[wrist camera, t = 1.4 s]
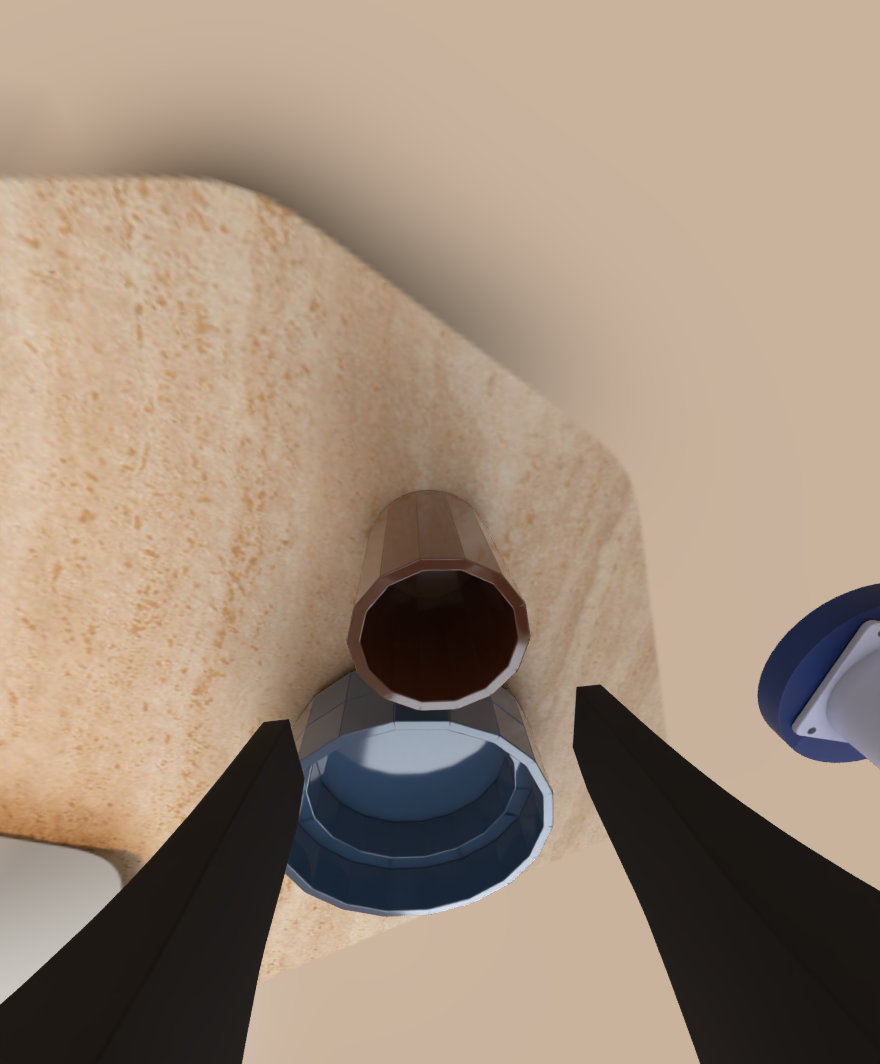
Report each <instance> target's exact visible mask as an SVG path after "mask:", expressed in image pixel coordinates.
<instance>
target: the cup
mask: <svg viewBox="0 0 880 1064" xmlns="http://www.w3.org/2000/svg"><path fill="white" fill-rule="evenodd" d="M529 640H530V630H529V623H528V617H527V610H526V604H525V602H524V600H523V598H522V596H521V594H520V592H519V590H518V588H517V586H516V584H515V582H514V580H513V578H512V576H511V574H510V572H509V570H508V568H507V566H506V564H505V562H504V560H503V558H502V556H501V554H500V552H499V551H498V549H497V547H496V545H495V543H494V541H493V539H492V537H491V535H490V533H489V531H488V529H487V527H486V525H485V524H484V523H483V521H482V520H481V518H480V517H479V515H478V514H477V512H476V511H475V510H474V509H473V508H472V507H471V506H470V505H469V504H467V503H466V502H465V501H463V500H462V499H460V498H458V497H456V496H454V495H452V494H449V493H445V492H440V491H429V490H427V491H418V492H413V493H410V494H407V495H404V496H402V497H400V498H398V499H396V500H395V501H393V502H392V503H391V504H389V505H388V506H387V507H386V508H385V509H384V510H383V511H382V512H381V513H380V515H379V516H378V517H377V519H376V521H375V522H374V524H373V526H372V528H371V531H370V535H369V540H368V544H367V549H366V553H365V558H364V562H363V567H362V572H361V576H360V581H359V585H358V590H357V594H356V599H355V603H354V608H353V613H352V617H351V622H350V627H349V632H348V637H347V645H348V648H349V651H350V654H351V656H352V659H353V662H354V665H355V668H356V671H357V674H358V675H359V676H360V677H361V678H362V679H363V680H364V681H365V682H366V683H367V684H368V685H369V686H370V687H372V688H373V689H374V690H375V691H376V692H377V693H378V694H379V695H380V696H381V697H382V698H385V699H386V700H389V701H392V702H395V703H397V704H400V705H403V706H406V707H409V708H412V709H415V710H420V711H427V710H453V709H459V708H462V707H464V706H466V705H469V704H471V703H474V702H476V701H479V700H481V699H484V698H486V697H489V696H491V694H494V693H495V692H496V691H497V690H498V689H499V688H500V687H501V686H502V685H503V684H504V683H505V682H506V681H507V680H508V679H509V678H510V677H511V676H512V675H513V674H514V673H515V672H517V670H518V669H519V666H520V664H521V661H522V658H523V656H524V653H525V651H526V648H527V645H528V643H529Z"/></svg>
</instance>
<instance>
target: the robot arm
mask: <svg viewBox="0 0 880 1064" xmlns="http://www.w3.org/2000/svg"><path fill="white" fill-rule="evenodd" d="M792 730H793V731H794V732H795V733H796V734H797V735H801V736H807V737H814V738H820V739H827V740H833V741H840V742H847V743H849V744H851V745H852V746H853V747H854V748H855V749H856V750H858V751H859V752H860V753H861V754H862V755H864V756H865V757H866V758H867V759H868V760H870V761H871V762H872V763H873V764H874V765H875V766H877V767H878V768H879V769H880V621H876V620H869V621H866V622H864V623H863V624H862V625H861V626H860V628H859V629H858V630H857V632H856V633H855V635H854V636H853V638H852V639H851V641H850V642H849V643H848V645H847V646H846V648H845V649H844V651H843V652H842V653H841V655H840V656H839V658H838V659H837V661H836V662H835V663H834V665H833V666H832V668H831V669H830V671H829V672H828V674H827V675H826V676H825V678H824V679H823V681H822V682H821V684H820V685H819V686H818V688H817V689H816V691H815V692H814V694H813V695H812V697H811V698H810V699H809V701H808V702H807V704H806V705H805V707H804V708H803V709H802V711H801V712H800V714H799V715H798V717H797V718H796V720H795V721H794V722H793V724H792ZM573 749H574V752H575V755H576V758H577V761H578V764H579V767H580V770H581V773H582V776H583V779H584V781H585V784H586V787H587V790H588V792H589V794H590V796H591V799H592V801H593V803H594V805H595V807H596V810H597V812H598V814H599V816H600V818H601V820H602V823H603V825H604V827H605V829H606V831H607V833H608V835H609V837H610V840H611V842H612V844H613V846H614V848H615V850H616V852H617V854H618V857H619V859H620V861H621V863H622V865H623V867H624V869H625V872H626V874H627V876H628V878H629V880H630V882H631V884H632V886H633V889H634V891H635V893H636V895H637V897H638V900H639V902H640V904H641V907H642V909H643V911H644V914H645V916H646V918H647V921H648V923H649V926H650V928H651V931H652V934H653V936H654V939H655V942H656V944H657V947H658V950H659V952H660V955H661V957H662V960H663V963H664V965H665V968H666V970H667V973H668V976H669V979H670V981H671V984H672V987H673V990H674V992H675V995H676V998H677V1001H678V1003H679V1006H680V1009H681V1012H682V1014H683V1017H684V1020H685V1023H686V1025H687V1028H688V1031H689V1034H690V1036H691V1039H692V1042H693V1045H694V1047H695V1050H696V1053H697V1056H698V1059H699V1061H700V1064H880V891H879V890H877V889H876V888H874V887H872V886H871V885H869V884H867V883H865V882H864V881H862V880H860V879H859V878H857V877H855V876H853V875H852V874H850V873H849V872H847V871H845V870H844V869H842V868H841V867H839V866H837V865H836V864H834V863H832V862H831V861H829V860H828V859H826V858H824V857H823V856H821V855H820V854H818V853H816V852H815V851H813V850H811V849H810V848H808V847H807V846H805V845H804V844H802V843H800V842H799V841H797V840H796V839H794V838H793V837H791V836H790V835H788V834H787V833H785V832H783V831H782V830H781V829H779V828H778V827H776V826H775V825H773V824H772V823H770V822H769V821H767V820H766V819H765V818H763V817H762V816H760V815H759V814H758V813H756V812H755V811H753V810H752V809H750V808H749V807H747V806H746V805H745V804H743V803H742V802H740V801H739V800H738V799H736V798H735V797H733V796H732V795H731V794H729V793H728V792H727V791H725V790H724V789H723V788H721V787H720V786H719V785H717V784H716V783H715V782H714V781H712V780H711V779H710V778H708V777H707V776H706V775H705V774H703V773H702V772H701V771H699V770H698V769H697V768H696V767H695V766H693V765H692V764H691V763H690V762H688V761H687V760H686V759H685V758H683V757H682V756H681V755H680V754H679V753H677V752H676V751H675V750H674V749H673V748H672V747H670V746H669V745H668V744H667V743H666V742H664V741H663V740H662V739H661V738H660V737H659V736H657V735H656V734H655V733H654V732H653V731H652V730H651V729H649V728H648V727H647V726H646V725H645V724H644V723H643V722H641V721H640V720H639V719H638V718H637V717H636V716H635V715H634V714H633V713H631V712H630V711H629V710H628V709H627V708H626V707H625V706H624V705H623V704H621V703H620V702H619V701H618V700H617V699H616V698H615V697H614V696H613V695H612V694H610V693H609V692H608V691H607V690H606V689H605V688H604V687H603V686H601V685H591V686H583V687H577V689H576V705H575V721H574V737H573ZM304 780H305V778H304V774H303V771H302V767H301V763H300V759H299V756H298V752H297V748H296V744H295V741H294V737H293V733H292V729H291V726H290V722H289V719H287V720H278V721H269V722H263V724H262V725H261V726H260V727H259V728H258V730H257V731H256V732H255V733H254V735H253V736H252V737H251V738H250V740H249V741H248V742H247V744H246V745H245V746H244V747H243V749H242V750H241V751H240V753H239V754H238V755H237V756H236V758H235V759H234V760H233V762H232V763H231V764H230V765H229V767H228V768H227V769H226V770H225V772H224V773H223V774H222V776H221V777H220V778H219V779H218V780H217V782H216V783H215V784H214V785H213V787H212V788H211V789H210V790H209V792H208V793H207V794H206V795H205V796H204V798H203V799H202V800H201V801H200V803H199V804H198V805H197V806H196V807H195V809H194V810H193V811H192V812H191V813H190V815H189V816H188V817H187V818H186V819H185V820H184V822H183V823H182V824H181V825H180V826H179V827H178V828H177V830H176V831H175V832H174V833H173V834H172V835H171V836H170V838H169V839H168V840H167V841H166V842H165V843H164V844H163V846H162V847H161V848H160V849H159V850H158V851H157V852H156V853H155V855H154V856H153V857H152V858H151V859H150V860H149V861H148V862H147V863H146V864H145V865H144V867H143V868H142V869H141V870H140V871H139V872H138V873H137V874H136V875H135V876H134V877H133V878H132V879H131V880H130V881H129V883H128V884H127V885H126V886H125V887H124V888H123V889H122V890H121V891H120V892H119V893H118V894H117V895H116V896H115V897H114V898H113V899H112V900H111V901H110V902H109V903H108V904H107V905H106V906H105V907H104V908H103V909H102V910H101V911H100V912H99V913H98V914H97V915H96V916H95V917H94V918H93V919H92V920H91V921H90V922H89V923H88V924H87V925H86V926H85V927H84V928H83V929H82V930H81V931H80V932H79V933H78V934H76V935H75V936H74V937H73V938H72V939H71V940H70V941H69V942H68V943H67V944H66V945H65V946H64V947H63V948H61V949H60V950H59V951H58V952H57V953H56V954H55V955H54V956H53V957H52V958H51V959H50V960H49V961H48V962H47V963H46V964H44V966H42V967H41V968H40V969H39V970H38V971H37V972H36V973H35V974H34V975H33V976H32V977H31V978H29V979H28V980H27V981H26V982H25V983H24V984H23V985H22V986H21V987H20V988H18V989H17V990H16V991H15V992H14V993H13V994H12V995H11V996H9V997H8V998H7V999H6V1000H5V1001H4V1002H3V1003H2V1004H0V1064H242V1060H243V1054H244V1049H245V1043H246V1037H247V1032H248V1027H249V1022H250V1017H251V1011H252V1006H253V1001H254V995H255V990H256V985H257V980H258V975H259V970H260V966H261V962H262V958H263V953H264V949H265V945H266V941H267V937H268V934H269V930H270V926H271V923H272V919H273V915H274V912H275V908H276V904H277V900H278V897H279V893H280V889H281V886H282V882H283V878H284V875H285V871H286V867H287V863H288V860H289V856H290V852H291V848H292V844H293V841H294V837H295V833H296V829H297V825H298V819H299V813H300V807H301V801H302V794H303V787H304Z"/></svg>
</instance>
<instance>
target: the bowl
mask: <svg viewBox="0 0 880 1064" xmlns="http://www.w3.org/2000/svg"><path fill="white" fill-rule="evenodd" d="M292 733H293V737H294V741H295V744H296V748H297V752H298V756H299V759H300V763H301V767H302V771H303V774H304V778H305V780H304V787H303V794H302V801H301V807H300V813H299V819H298V825H297V829H296V833H295V837H294V841H293V844H292V848H291V852H290V856H289V860H288V863H287V867H286V871H285V874H286V875H287V876H288V877H289V878H290V879H291V880H292V881H294V882H295V883H296V884H297V885H298V886H299V887H300V888H301V889H302V890H303V891H304V892H306V893H308V894H310V895H312V896H314V897H316V898H319V899H321V900H323V901H325V902H327V903H330V904H332V905H334V906H336V907H338V908H340V909H344V910H349V911H355V912H361V913H367V914H372V915H378V916H386V917H389V916H410V915H429V914H434V913H437V912H442V911H445V910H449V909H453V908H457V907H461V906H464V905H468V904H471V903H474V902H476V901H478V900H480V899H482V898H484V897H486V896H488V895H489V894H491V893H493V892H495V891H497V890H499V889H501V888H503V887H505V886H507V885H508V884H510V883H511V882H512V881H513V880H514V879H515V878H516V877H517V876H519V875H520V874H521V873H522V872H523V871H524V870H525V869H526V868H527V867H528V866H529V865H530V864H531V863H532V862H533V861H535V860H536V859H537V857H538V856H539V854H540V852H541V850H542V848H543V846H544V844H545V842H546V840H547V838H548V836H549V834H550V832H551V830H552V828H553V790H552V788H551V785H550V782H549V779H548V776H547V773H546V770H545V767H544V764H543V762H542V759H541V756H540V753H539V750H538V747H537V745H536V742H535V739H534V736H533V733H532V730H531V727H530V725H529V723H528V721H527V719H526V717H525V715H524V714H523V712H522V710H521V708H520V706H519V704H518V702H517V701H516V699H515V698H514V696H513V695H512V694H510V693H509V692H508V691H506V690H505V689H504V688H502V687H500V688H499V689H498V690H497V691H496V692H495V693H494V694H491V696H489V697H486V698H484V699H481V700H479V701H476V702H474V703H471V704H469V705H466V706H464V707H462V708H459V709H453V710H427V711H420V710H415V709H412V708H409V707H406V706H403V705H400V704H397V703H395V702H392V701H389V700H386V699H385V698H382V697H381V696H380V695H379V694H378V693H377V692H376V691H375V690H374V689H373V688H372V687H370V686H369V685H368V684H367V683H366V682H365V681H364V680H363V679H362V678H361V677H360V676H359V675H358V674H357V671H353V672H352V673H351V672H350V673H349V674H347V675H346V676H344V677H343V678H341V679H340V680H338V681H337V682H335V683H334V684H332V685H331V686H329V687H328V688H326V689H324V690H323V691H321V692H320V693H318V694H317V695H316V696H315V697H314V698H313V699H312V701H311V702H310V704H309V705H308V706H307V708H306V709H305V711H304V712H303V713H302V715H301V716H300V718H299V719H298V721H297V722H296V723H295V725H294V727H293V729H292Z"/></svg>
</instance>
